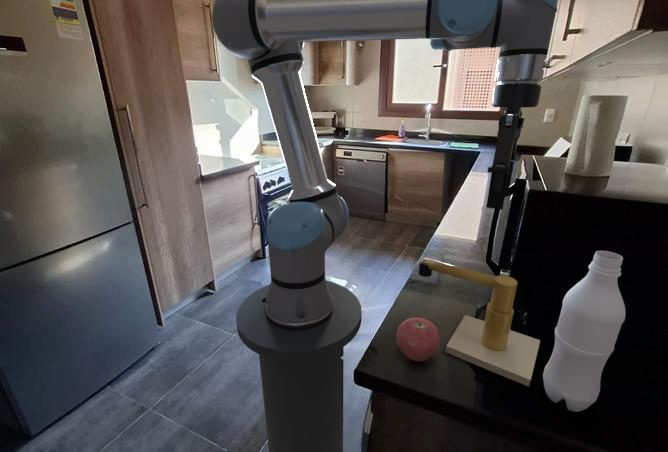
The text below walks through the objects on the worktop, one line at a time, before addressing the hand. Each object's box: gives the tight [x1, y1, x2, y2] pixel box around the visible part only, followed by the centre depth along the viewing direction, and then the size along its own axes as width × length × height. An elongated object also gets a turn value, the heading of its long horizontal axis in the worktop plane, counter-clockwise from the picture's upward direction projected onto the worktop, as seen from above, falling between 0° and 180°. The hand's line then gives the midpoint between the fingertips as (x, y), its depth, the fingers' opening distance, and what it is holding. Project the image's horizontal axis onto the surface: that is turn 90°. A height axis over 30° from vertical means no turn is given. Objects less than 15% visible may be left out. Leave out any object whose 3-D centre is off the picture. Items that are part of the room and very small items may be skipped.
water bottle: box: [542, 250, 626, 413], centre depth 50 cm, size 7×7×25 cm
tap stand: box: [444, 302, 541, 388], centre depth 63 cm, size 14×12×9 cm
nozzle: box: [417, 257, 518, 313], centre depth 64 cm, size 18×4×6 cm, turn 54°
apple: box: [396, 317, 441, 362], centre depth 62 cm, size 7×7×8 cm
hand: (498, 199), depth 68 cm, fingers open, 13 cm apart
